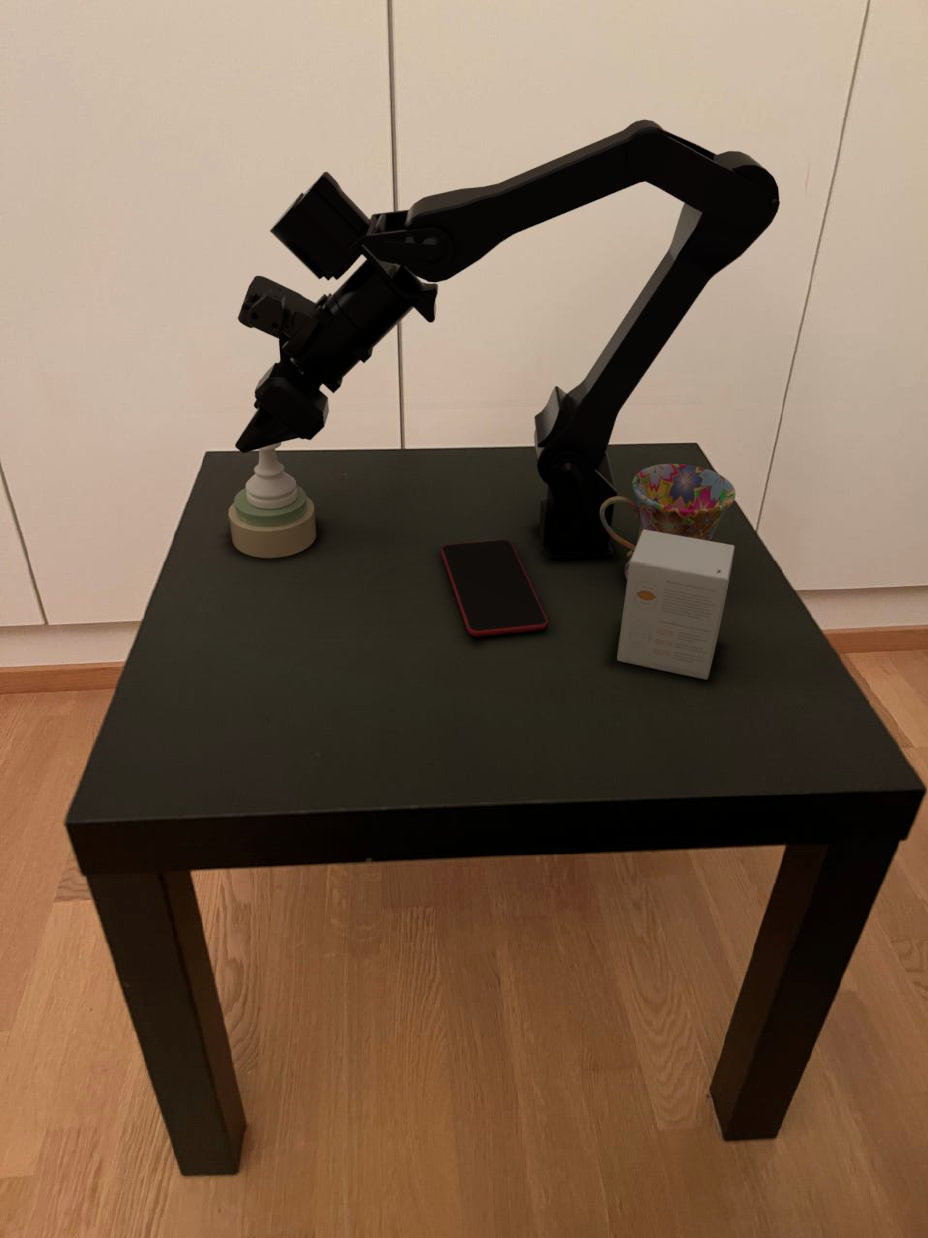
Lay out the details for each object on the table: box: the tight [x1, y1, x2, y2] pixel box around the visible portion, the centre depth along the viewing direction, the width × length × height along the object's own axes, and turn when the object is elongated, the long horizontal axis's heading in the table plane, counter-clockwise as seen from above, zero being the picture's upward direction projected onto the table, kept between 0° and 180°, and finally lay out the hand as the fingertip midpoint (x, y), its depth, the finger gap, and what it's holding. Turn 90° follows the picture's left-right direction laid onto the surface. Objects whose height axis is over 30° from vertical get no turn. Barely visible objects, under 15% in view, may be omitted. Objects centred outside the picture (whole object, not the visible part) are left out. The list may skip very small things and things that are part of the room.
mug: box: [600, 463, 736, 581], centre depth 90 cm, size 12×9×11 cm
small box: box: [616, 530, 736, 681], centre depth 80 cm, size 8×6×10 cm
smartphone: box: [440, 539, 548, 638], centre depth 91 cm, size 7×1×15 cm
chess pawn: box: [245, 442, 297, 509], centre depth 93 cm, size 5×5×9 cm
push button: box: [228, 485, 317, 559], centre depth 97 cm, size 9×9×4 cm
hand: (248, 428), depth 91 cm, fingers open, 9 cm apart
